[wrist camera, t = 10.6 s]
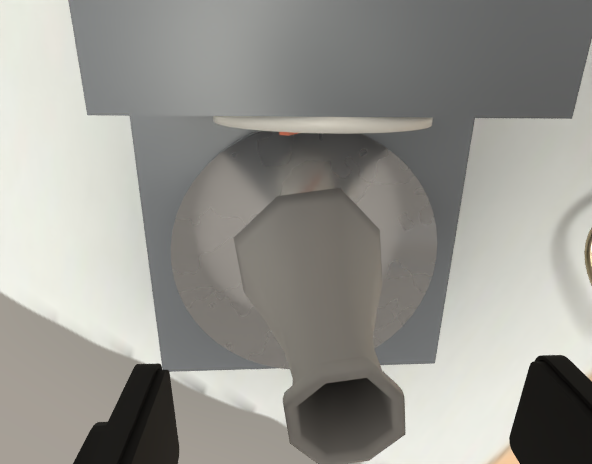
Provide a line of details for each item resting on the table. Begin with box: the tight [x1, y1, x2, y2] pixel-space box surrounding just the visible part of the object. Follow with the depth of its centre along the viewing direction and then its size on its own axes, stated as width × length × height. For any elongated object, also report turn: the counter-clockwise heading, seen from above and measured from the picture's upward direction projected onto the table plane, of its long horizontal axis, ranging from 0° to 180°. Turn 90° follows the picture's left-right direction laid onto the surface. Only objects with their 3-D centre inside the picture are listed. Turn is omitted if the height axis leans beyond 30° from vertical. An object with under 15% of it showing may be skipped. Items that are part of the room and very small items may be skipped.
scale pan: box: [171, 130, 437, 369], centre depth 20 cm, size 13×13×1 cm
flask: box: [234, 188, 405, 464], centre depth 15 cm, size 7×7×10 cm
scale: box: [68, 0, 592, 372], centre depth 18 cm, size 16×18×14 cm
